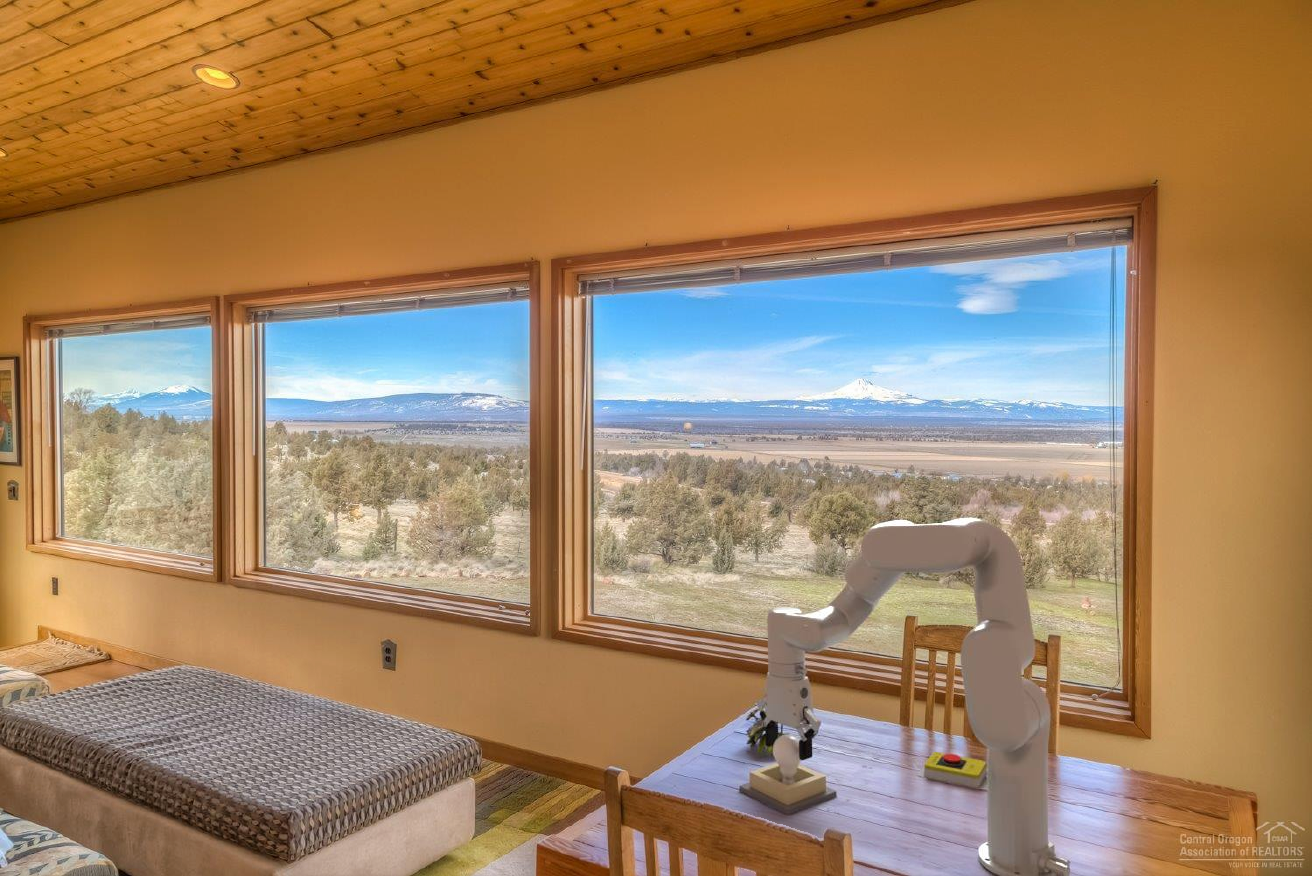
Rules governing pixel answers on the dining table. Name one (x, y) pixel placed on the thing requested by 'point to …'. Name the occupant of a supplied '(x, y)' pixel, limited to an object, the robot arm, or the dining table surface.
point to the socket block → (787, 788)
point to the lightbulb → (787, 757)
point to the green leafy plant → (760, 734)
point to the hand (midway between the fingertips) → (788, 751)
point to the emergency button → (955, 770)
